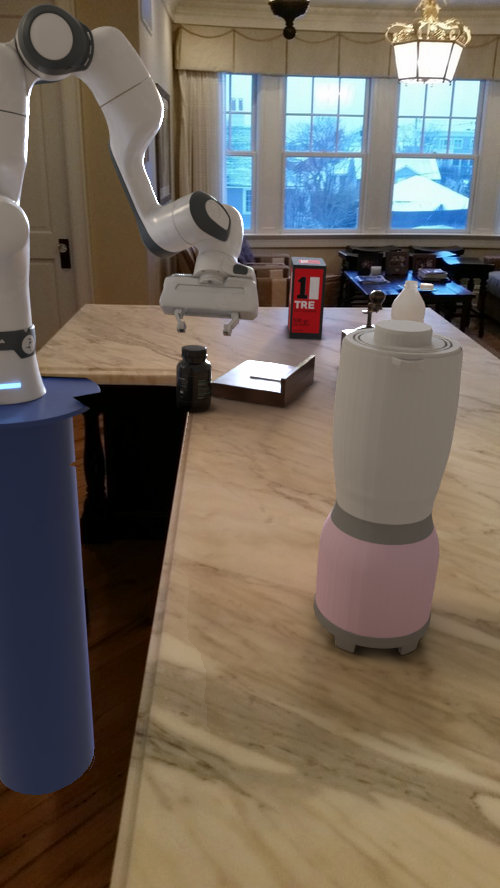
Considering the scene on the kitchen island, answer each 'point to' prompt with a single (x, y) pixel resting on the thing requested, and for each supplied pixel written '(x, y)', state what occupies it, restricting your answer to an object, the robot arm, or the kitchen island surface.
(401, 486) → the blender
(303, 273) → the cleaning product box
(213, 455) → the kitchen island surface
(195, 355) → the supplement bottle
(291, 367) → the shelf
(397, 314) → the water bottle
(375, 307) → the coffee grinder
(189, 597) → the kitchen island surface
